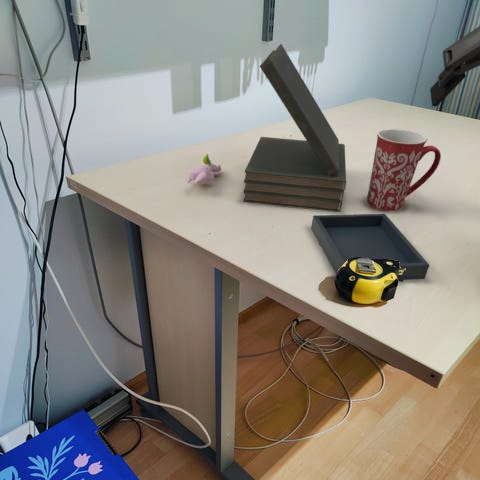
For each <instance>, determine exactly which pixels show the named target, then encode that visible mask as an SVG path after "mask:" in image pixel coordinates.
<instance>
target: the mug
mask: <svg viewBox="0 0 480 480" xmlns="http://www.w3.org/2000/svg"><path fill="white" fill-rule="evenodd" d="M376 137H377V139H376V145H375V150H374V157H373V162H372V169H371V174H370V178H369V179H370V180H369V185H368V190H367V197H366V202H367V204H368V205H369V206H370V207H372V208H373V209H376V210H380V211H386V212H394V211H399V210H401V209H402V208H403V207H404V205H405V202H406V198H407V197H408V196H410V195H412V194H413V193H414V192H415V191H416V190H418V189H419V188H420V187H422V185H424V184H425V183H426V182H427V181H428V180H429V179H430V178H431V177H432V175H433V174H435V172H436V170H437V169H438V167H439V165H440V163H441V157H442V154H441V151H440V149H439V148H438V147H437V146H434V145H426V146H425V144H426V143H427V141H428V137H427V136H426V135H424V134H422V133H420V132H418V131H414V130H410V129H401V128H385V129H381V130H379V131H378V132H377V133H376ZM430 152H431V153H434V159H433V162H432V164H431V166H430V167H429V169H428V170H426V172H425V173H424V174H423V175H421V176H420V178H419V179H418V180H417V181H415V182H414V183H413V184H412V181H413V178H414V175H415V173H416V170H417V167H418V165H419V162H420V161H421V160H423V158H424V157H425V155H426V154H428V153H430Z"/></svg>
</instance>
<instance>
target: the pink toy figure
mask: <svg viewBox="0 0 480 480" xmlns="http://www.w3.org/2000/svg"><path fill="white" fill-rule="evenodd" d="M202 162H203V164H204V165H200V166H196V167H195V168H194V169H193V171H190V172H188V173H187V174H186V175H185V179H186V183H187V184H189V183H191V182H192V181H194V182H193V183H194V185H196V184H200V185H202V186H203V185H207V184H209V183H211V182H213V181H214V180H215V177H217V176H218V175H222V174H223V172H222V168H221V167H222V166H221V165H220V164H218V165H217V164H215V163H212V162H211V160H210V157H209V154H208V153H207V154H205V155H204V156H203V159H202Z"/></svg>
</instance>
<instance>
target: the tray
mask: <svg viewBox="0 0 480 480" xmlns="http://www.w3.org/2000/svg"><path fill="white" fill-rule="evenodd" d="M310 229H311V231H312V233H313V234H314V237H315V238H316V241H317V242H318V244H319V245H320V247H321V249H322V251H323V253H324V255H325V257H326V259H327V260H328V262H329V264H330V266H331V268H332V269H333V271H334V273H335V275H336V276H337V271H338V269H339V268H340V267H341V266H342V265H343V264H344V263H345V262H346V261H347V259H349V258H353V257H362V258H369V259H389V260H397V261H399V262H400V264H399V265H400V267H401V268H406V270H405V274H404V275H400V276H399V277H398V280H397V281H412V280H414V281H415V280H425V279H426V276H427V273H428V271H429V268H430V266H431V265H430V264H429V262H428V261H427V260H426V259H425V258H424V256H423V255H422V254H421V253H420V252H419V250H417V248H416V247H415V246H414V245H413V244H412V243H411V242H410V241H409V240H408V238H407V237H406V236H405V234H403V233H402V231H401V230H400V229H399V227H397V226H396V224H395V223H394V222H393V221H392V220H391V219H390V217H388V215H386V213H360V214H359V213H356V214H355V213H354V214H327V215H326V214H322V215H321V214H320V215H319V214H318V215H315V214H314V215H312V221H311V227H310Z"/></svg>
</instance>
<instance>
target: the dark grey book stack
mask: <svg viewBox="0 0 480 480" xmlns="http://www.w3.org/2000/svg"><path fill="white" fill-rule="evenodd" d="M259 68H260V69H261V71H262V72H263V74H264V76H265V77H266V79H267V81H268V82H269V84H270V86H271V87H272V88H273V90H274V91H275V93H276V95H277V96H278V98H279V100H280V102H281V103H282V104H283V105H284V107H285V109H286V111H287V112H288V113H289V115H290V117H291V118H292V119H293V121H294V123H295V125H296V126H297V128H298V129H299V132H300V133H301V134H302V136H303V138H304V139H305V140H303V139H292V138H291V139H290V138H280V137H269V136H260V138H259V140H258V142H257V144H256V146H255V148H254V150H253V153H252V155H251V157H250V159H249V160H248V163H247V165H246V167H245V169H244V173H245V177H244V179H243V183H244V184H245V185H244V189H243V194H244V197H243V201H242V202H243V203H253V204H261V205H262V204H263V205H271V206H282V207H288V208H289V207H290V208H299V209H309V210H319V211H326V212H335V213H340V212H341V211H342V205H343V201H344V197H345V196H344V195H345V191H346V186H347V167H346V145H345V143H340V140H339V138H338V136H337V134H336V133H335V131H334V129H333V128H332V126H331V124H330V123H329V121H328V120H327V118H326V116H325V115H324V112H323V111H322V109H321V108H320V106H319V104H318V103H317V101H316V99H315V98H314V96H313V95H312V92H311V91H310V89H309V88H308V86H307V85H306V83H305V81H304V79H303V77H302V76H301V74H300V73H299V71H298V70H297V68H296V65H295V64H294V62H293V61H292V59H291V58H290V56H289V54H288V52H287V50H286V49H285V47H284V46H283V44H282V43H280V44H279V45H278V46H277V47H276V49H273V50H272V51H271V52H270V54H268V55H267V57H265V59H264V61H262V63H261V64H260V65H259Z"/></svg>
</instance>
